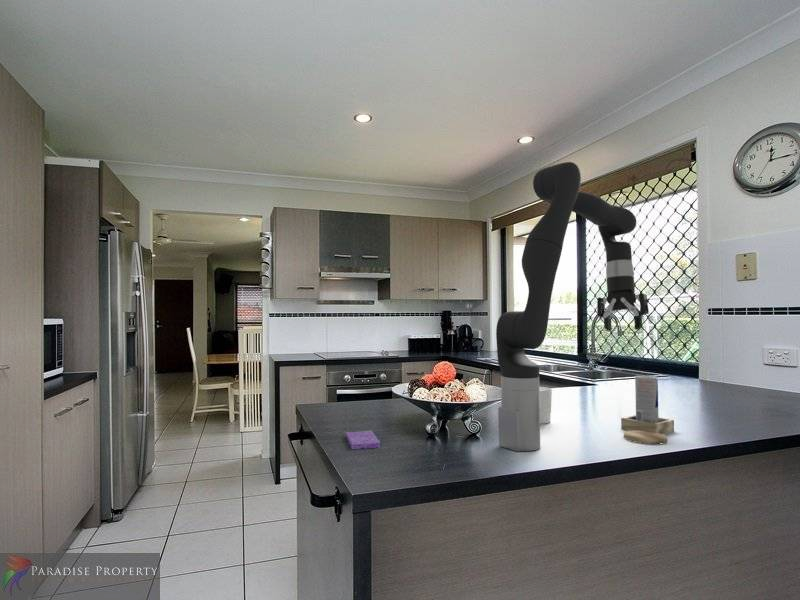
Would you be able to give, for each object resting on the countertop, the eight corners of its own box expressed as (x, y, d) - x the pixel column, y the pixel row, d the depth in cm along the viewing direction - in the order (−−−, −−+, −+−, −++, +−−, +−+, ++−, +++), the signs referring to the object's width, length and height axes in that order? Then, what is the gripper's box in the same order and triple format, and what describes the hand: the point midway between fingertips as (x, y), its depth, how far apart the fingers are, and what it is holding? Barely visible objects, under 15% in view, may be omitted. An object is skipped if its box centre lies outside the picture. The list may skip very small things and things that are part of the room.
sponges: (352, 451, 113) (352, 443, 113) (345, 438, 126) (345, 431, 126) (380, 449, 115) (380, 441, 115) (371, 436, 127) (371, 429, 127)
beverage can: (662, 432, 129) (661, 377, 129) (642, 432, 129) (641, 377, 129) (652, 427, 134) (651, 374, 135) (632, 427, 134) (631, 375, 135)
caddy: (655, 435, 125) (654, 424, 125) (621, 428, 133) (621, 418, 133) (674, 431, 130) (673, 420, 130) (640, 424, 138) (640, 414, 138)
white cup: (546, 425, 137) (546, 391, 137) (521, 422, 142) (520, 388, 142) (555, 420, 143) (555, 388, 143) (531, 417, 148) (530, 385, 148)
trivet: (653, 446, 115) (653, 442, 115) (615, 437, 123) (615, 433, 123) (674, 440, 120) (674, 436, 120) (637, 432, 129) (637, 428, 129)
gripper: (591, 278, 145) (594, 330, 143) (639, 272, 134) (642, 328, 132) (602, 280, 150) (605, 331, 148) (649, 274, 139) (653, 329, 137)
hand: (623, 330), depth 140 cm, fingers open, 8 cm apart
